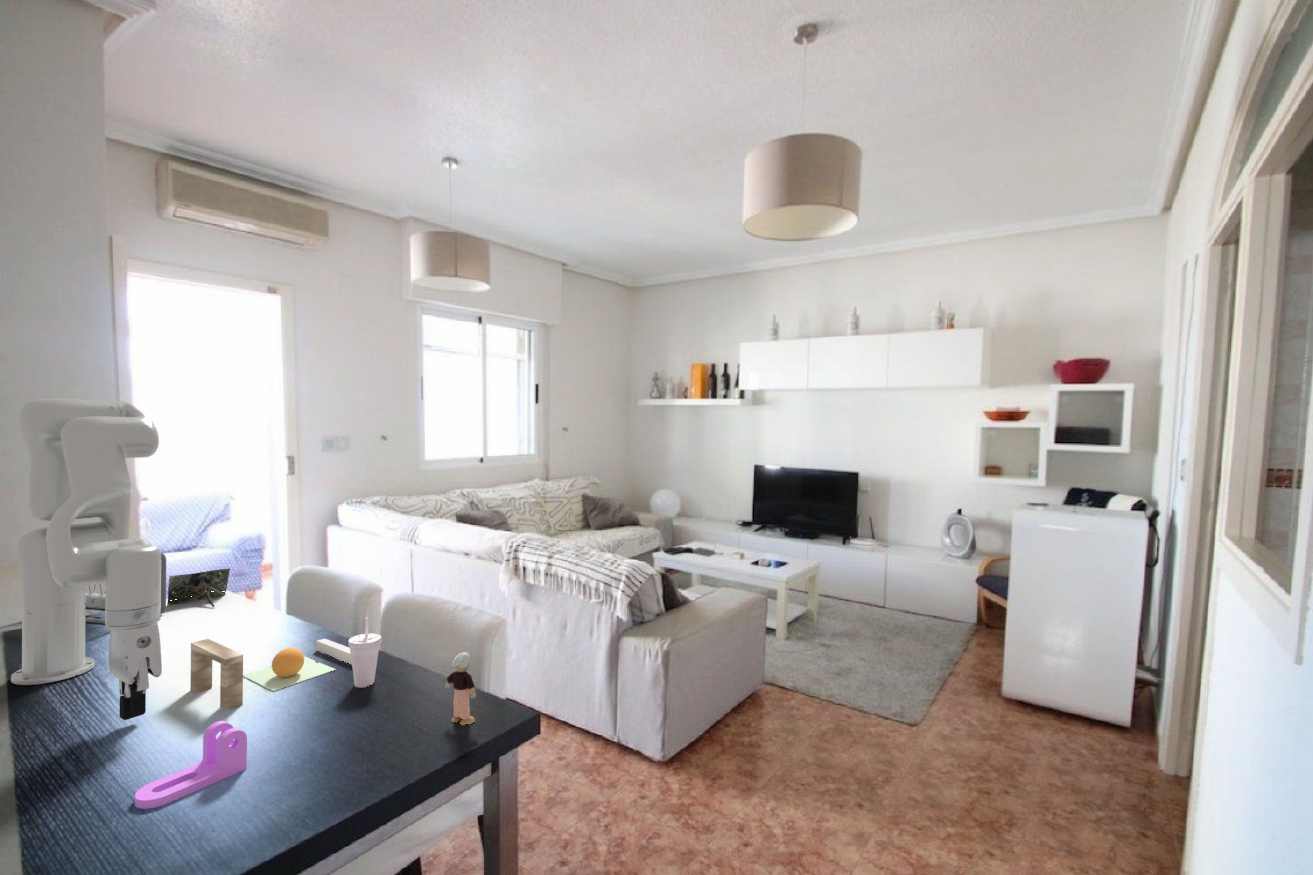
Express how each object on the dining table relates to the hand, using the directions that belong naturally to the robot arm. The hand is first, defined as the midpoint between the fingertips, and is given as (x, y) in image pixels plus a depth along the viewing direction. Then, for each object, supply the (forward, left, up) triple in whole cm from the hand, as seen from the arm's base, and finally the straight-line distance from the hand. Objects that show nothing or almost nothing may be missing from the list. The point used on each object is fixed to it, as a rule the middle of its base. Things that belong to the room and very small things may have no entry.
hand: (132, 715), depth 107 cm
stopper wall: (0, +38, -2) cm, 38 cm away
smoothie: (+18, +33, -2) cm, 38 cm away
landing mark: (0, +27, -2) cm, 27 cm away
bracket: (+29, -2, -2) cm, 29 cm away
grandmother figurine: (+47, +34, -2) cm, 58 cm away
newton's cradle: (-80, +18, -2) cm, 82 cm away
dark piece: (-76, +39, +3) cm, 85 cm away
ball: (+1, +26, +2) cm, 26 cm away
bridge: (0, +13, -2) cm, 13 cm away
